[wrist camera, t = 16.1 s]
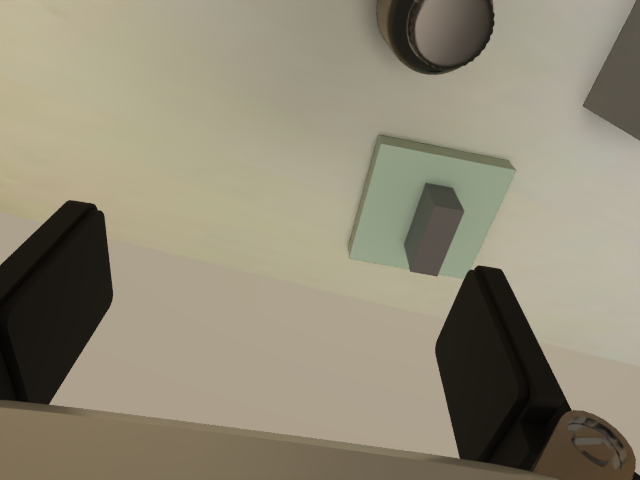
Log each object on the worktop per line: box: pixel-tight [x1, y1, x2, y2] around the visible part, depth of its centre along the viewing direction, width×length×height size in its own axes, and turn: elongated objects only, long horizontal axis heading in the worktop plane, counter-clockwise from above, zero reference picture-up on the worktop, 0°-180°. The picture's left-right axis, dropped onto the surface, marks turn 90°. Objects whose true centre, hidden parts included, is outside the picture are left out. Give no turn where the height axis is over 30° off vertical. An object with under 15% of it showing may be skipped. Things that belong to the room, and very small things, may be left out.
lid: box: [348, 135, 516, 279], centre depth 43 cm, size 13×13×7 cm
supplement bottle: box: [377, 0, 495, 75], centre depth 31 cm, size 7×7×12 cm
